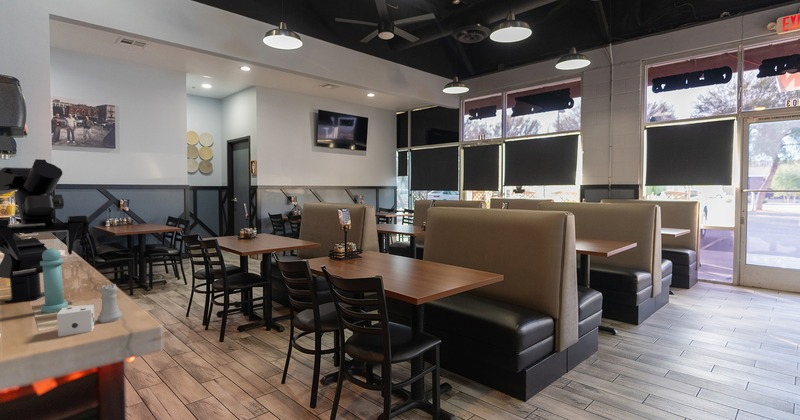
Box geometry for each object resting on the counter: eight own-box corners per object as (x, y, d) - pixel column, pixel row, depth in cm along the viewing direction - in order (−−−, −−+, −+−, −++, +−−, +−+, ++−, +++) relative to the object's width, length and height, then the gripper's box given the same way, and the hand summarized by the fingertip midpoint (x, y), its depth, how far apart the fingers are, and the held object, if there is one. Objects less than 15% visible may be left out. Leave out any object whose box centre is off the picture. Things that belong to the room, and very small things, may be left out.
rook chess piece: (110, 327, 83) (107, 288, 83) (91, 326, 84) (89, 287, 84) (128, 320, 87) (126, 283, 87) (111, 319, 88) (109, 282, 88)
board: (32, 309, 97) (32, 305, 97) (70, 303, 102) (70, 299, 102) (38, 334, 80) (38, 330, 79) (84, 325, 84) (84, 322, 84)
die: (63, 333, 81) (62, 307, 80) (95, 328, 83) (94, 303, 83) (58, 341, 76) (56, 314, 76) (92, 335, 79) (90, 309, 78)
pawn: (47, 308, 94) (43, 247, 93) (71, 306, 96) (67, 246, 95) (37, 314, 90) (33, 250, 89) (63, 312, 91) (59, 249, 91)
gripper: (-20, 183, 91) (-11, 237, 84) (85, 183, 105) (100, 229, 98) (-20, 217, 96) (-12, 271, 90) (79, 213, 110) (92, 258, 104)
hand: (45, 256), depth 95 cm, fingers open, 9 cm apart
